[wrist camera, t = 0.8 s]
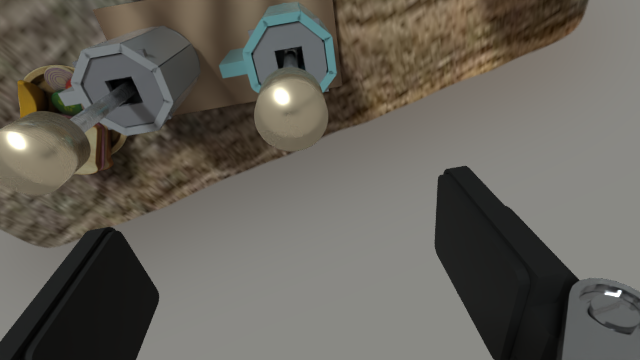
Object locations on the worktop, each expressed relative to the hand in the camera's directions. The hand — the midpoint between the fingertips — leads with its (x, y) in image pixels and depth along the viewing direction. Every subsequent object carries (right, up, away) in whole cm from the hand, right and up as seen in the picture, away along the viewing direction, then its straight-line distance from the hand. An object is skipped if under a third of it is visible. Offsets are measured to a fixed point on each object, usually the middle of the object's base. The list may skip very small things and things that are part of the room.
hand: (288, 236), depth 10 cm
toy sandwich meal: (-30, +10, +34) cm, 46 cm away
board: (-10, +18, +30) cm, 36 cm away
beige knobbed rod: (-17, +11, +22) cm, 30 cm away
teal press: (-4, +18, +29) cm, 35 cm away
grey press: (-19, +15, +29) cm, 38 cm away
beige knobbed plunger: (-2, +14, +22) cm, 26 cm away
